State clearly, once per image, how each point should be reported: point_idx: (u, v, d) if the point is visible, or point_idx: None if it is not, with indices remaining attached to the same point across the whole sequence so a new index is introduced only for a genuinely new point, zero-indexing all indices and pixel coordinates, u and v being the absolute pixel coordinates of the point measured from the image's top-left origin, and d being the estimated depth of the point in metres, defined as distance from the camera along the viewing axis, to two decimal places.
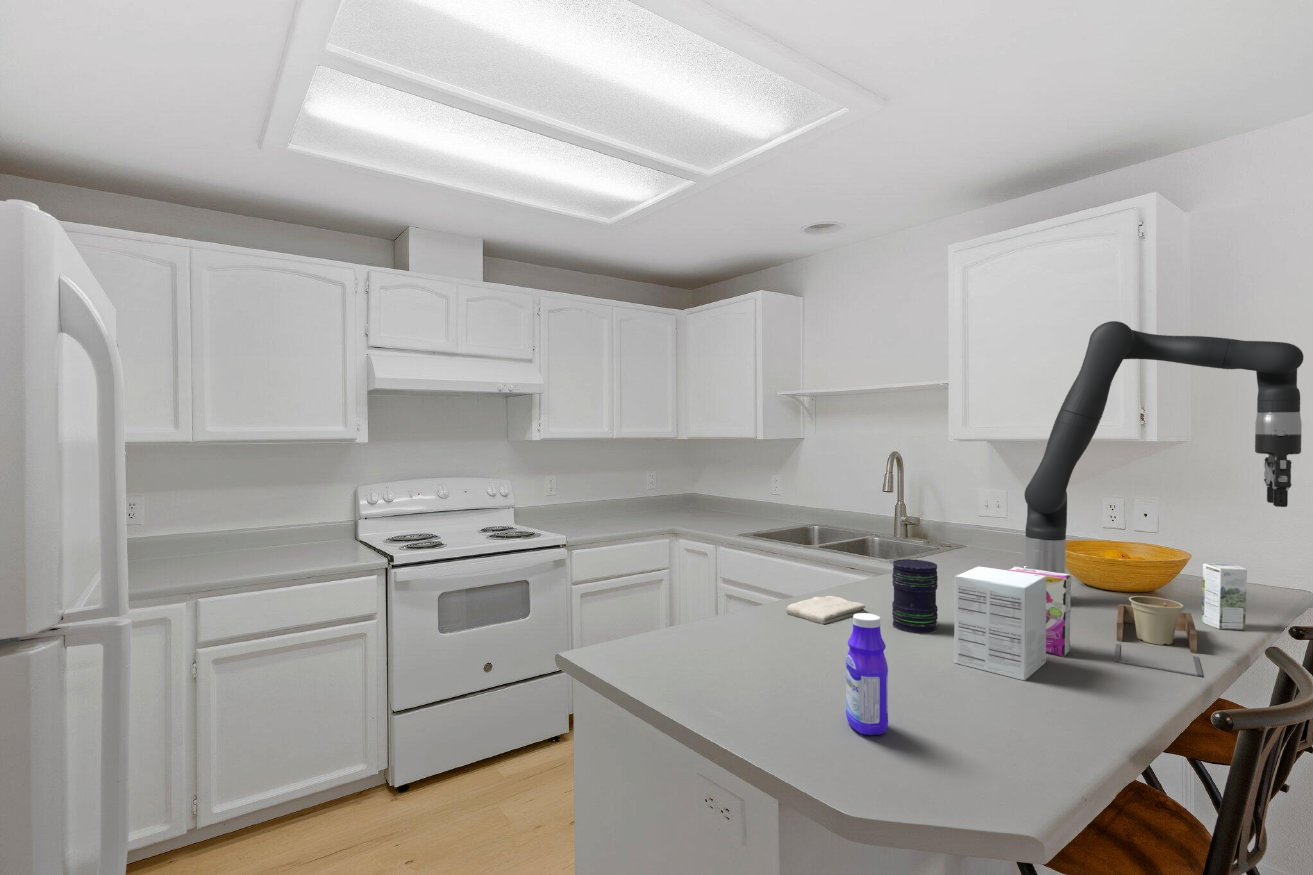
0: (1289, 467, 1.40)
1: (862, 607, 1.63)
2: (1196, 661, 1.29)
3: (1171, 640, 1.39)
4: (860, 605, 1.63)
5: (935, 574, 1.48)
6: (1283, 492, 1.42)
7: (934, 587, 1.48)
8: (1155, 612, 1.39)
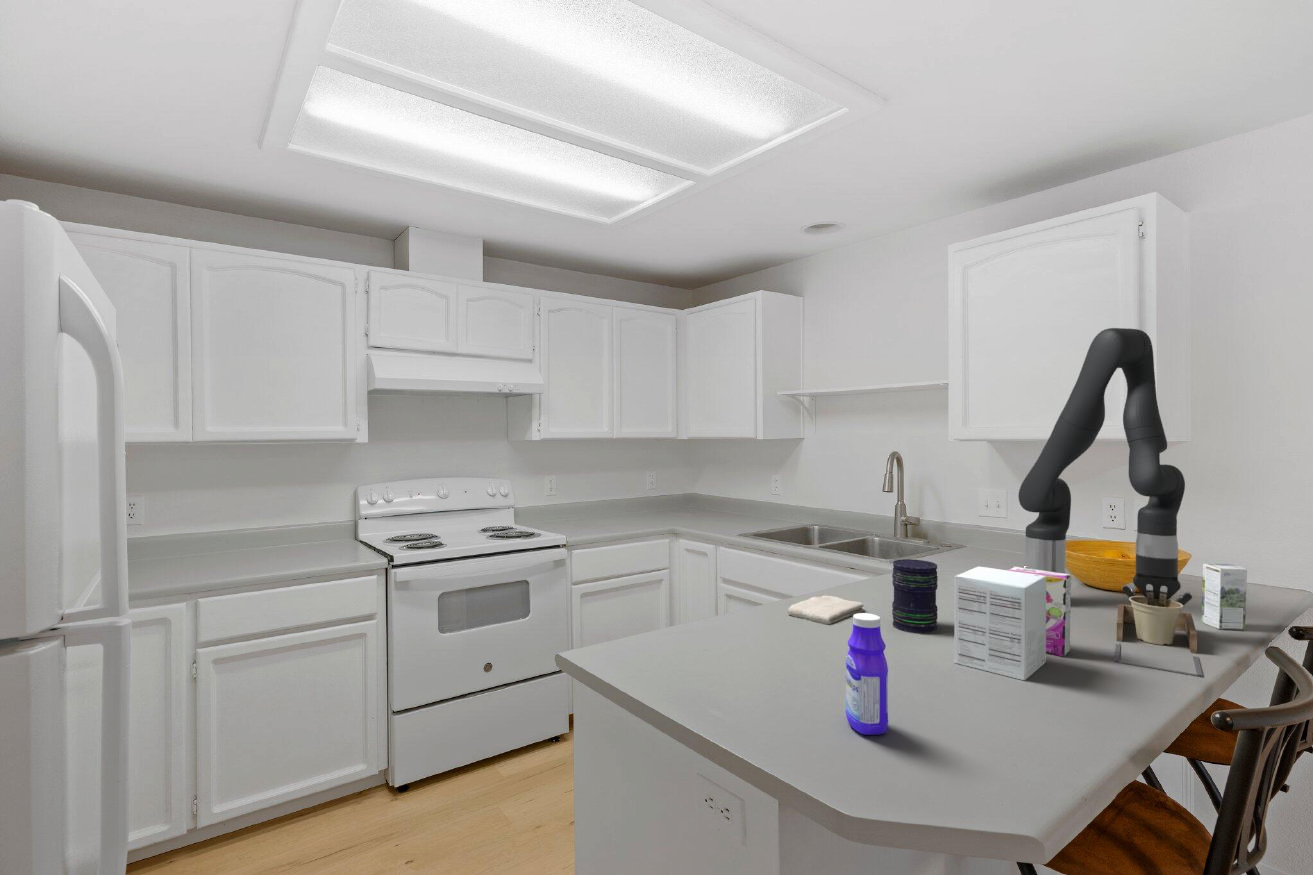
0: None
1: (861, 606, 1.64)
2: (1196, 661, 1.29)
3: (1171, 640, 1.39)
4: (859, 604, 1.64)
5: (935, 574, 1.48)
6: None
7: (934, 587, 1.48)
8: (1155, 612, 1.39)
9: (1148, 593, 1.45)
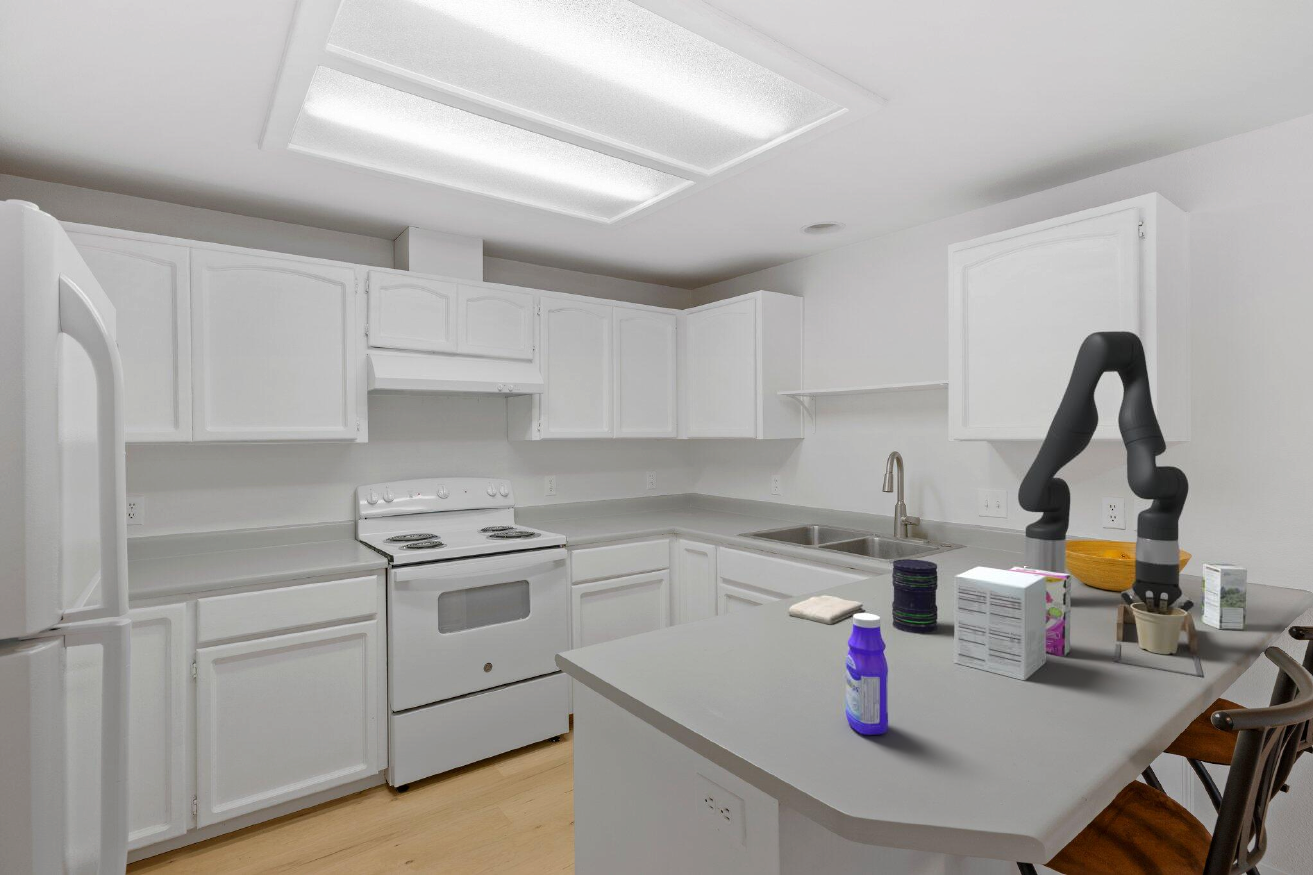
0: None
1: (860, 606, 1.65)
2: (1196, 661, 1.29)
3: (1176, 649, 1.33)
4: (858, 604, 1.65)
5: (935, 574, 1.48)
6: None
7: (934, 587, 1.48)
8: (1161, 621, 1.32)
9: (1148, 600, 1.39)
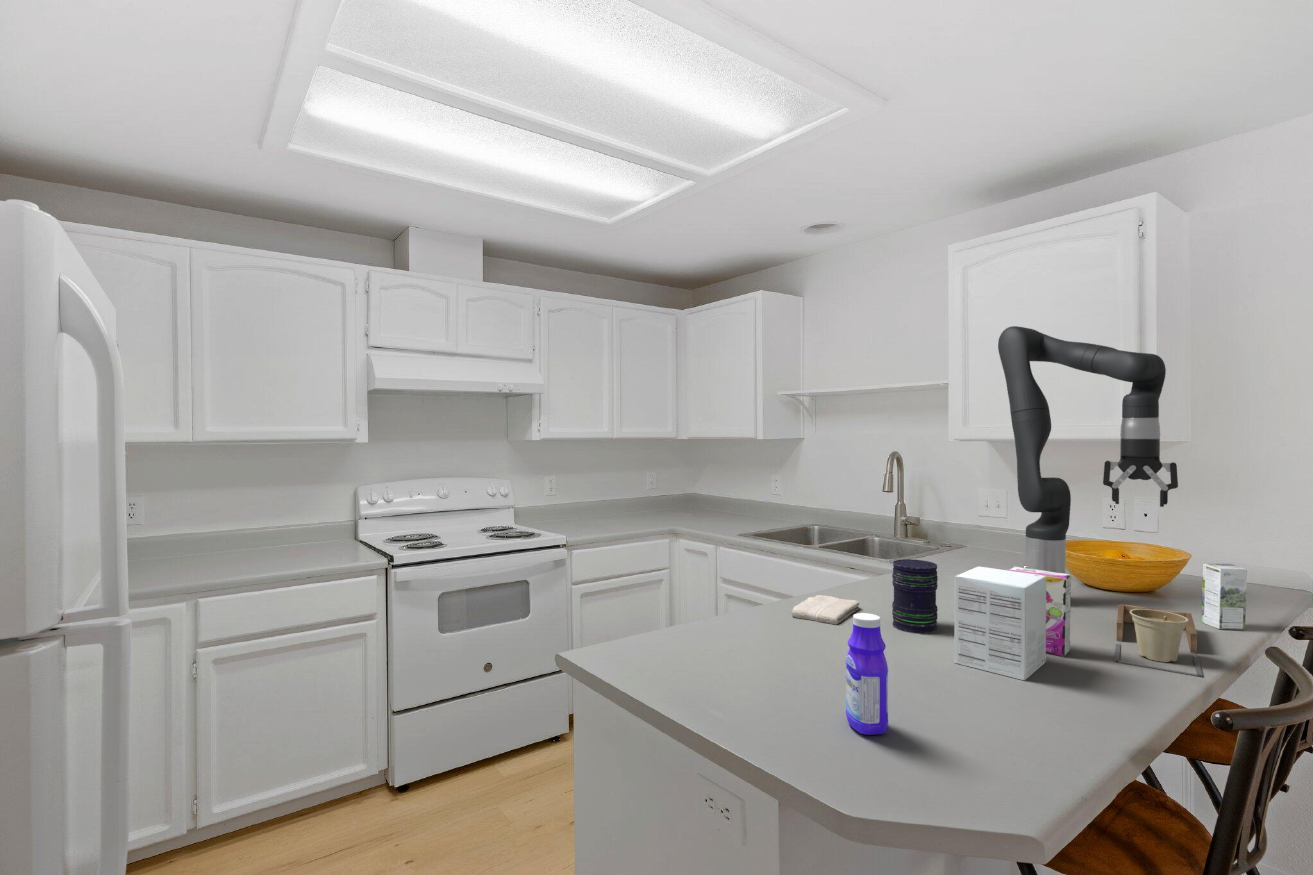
0: None
1: (858, 604, 1.66)
2: (1196, 661, 1.29)
3: (1176, 657, 1.29)
4: (856, 602, 1.66)
5: (935, 574, 1.48)
6: (1167, 493, 1.52)
7: (934, 587, 1.48)
8: (1162, 628, 1.28)
9: (1126, 472, 1.54)
